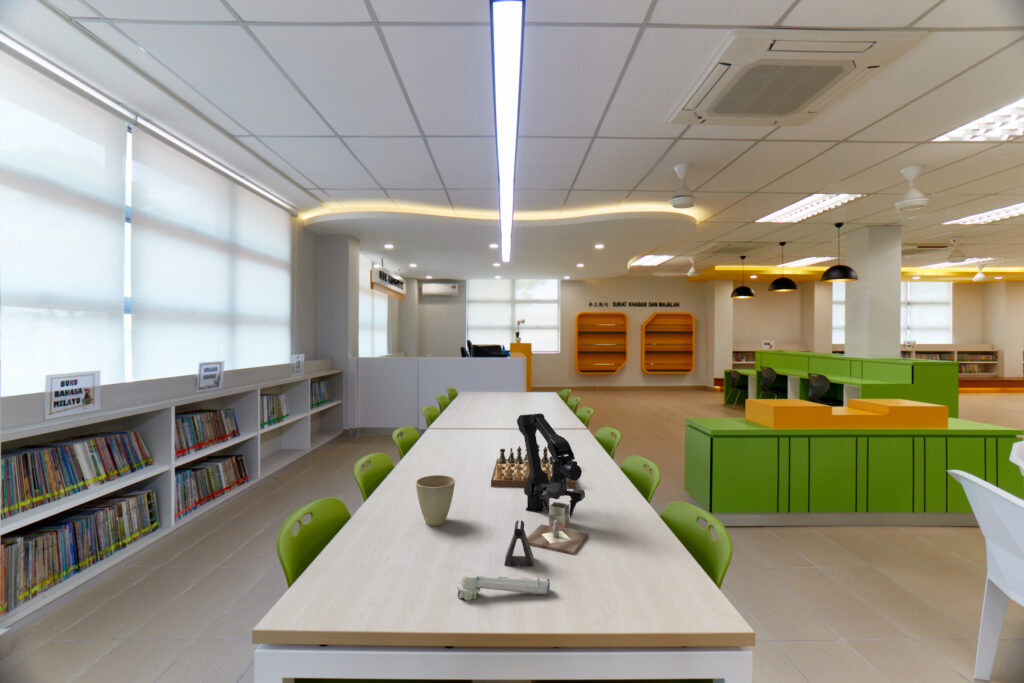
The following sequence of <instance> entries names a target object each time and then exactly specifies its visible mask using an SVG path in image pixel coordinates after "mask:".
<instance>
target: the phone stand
mask: <svg viewBox="0 0 1024 683" xmlns="http://www.w3.org/2000/svg"><path fill="white" fill-rule="evenodd" d="M519 523H520V528H519ZM527 537H528V536H527V534H526V531H525V522H524V521H523V519H521V520H516V521H515V523H514V531H513V534H512V538H511V541H510V543H509V546H508V548H507V551H506V553H505V558H504V566H505V567H534V557H535V556H534V554H533V551H532V549H531V545H529V542H528V539H527ZM518 539H519V540H520V542H521V544H522V549H523V552H524V556H523V555H514V552H515V547H516V543H517V540H518Z"/></svg>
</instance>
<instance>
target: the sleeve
mask: <svg viewBox="0 0 1024 683" xmlns="http://www.w3.org/2000/svg"><path fill="white" fill-rule="evenodd" d="M555 520H558V521H559V528H563V529H566V527H567V525H569V523H570V503H564V502H559V501H554V502H553V503H552V504H551V505H550V504H549V512H548V526H552V527H554V521H555Z"/></svg>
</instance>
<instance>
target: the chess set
mask: <svg viewBox="0 0 1024 683" xmlns="http://www.w3.org/2000/svg"><path fill="white" fill-rule="evenodd" d="M537 446H538V451H539V452H540V451H541V450H540V447H541V446H540V445H539V444H538V443H537ZM525 447H526V445H525ZM524 450H525V452H526V453H525V455H524V457H522V448H521V446H520V445H519V446H518V448H517V449H516V451H517V452H516V454H517V456H516V458H515V456H514V455H515V454H514V452H513V447H510V451H509V456H508V458H506V456H505V452H506V449H505V448H500V449H499V452H500V454H499V455H500V456H499V458H496V461H495V464H494V469H493V471H492V476H491V479H490V488H523V489H524V488H525V486H526V485H527V484H528V480H527V478H528V475H529V472H530V468H529V462H528V456H527V450H526V449H524ZM542 451H543V453H542V454H543V456H542V458H541V456H540V455H539V457H540V463H541V468H542V470H543V471H544V472H546V473H547V474H548V480H549V484H550V481H551V477H552V460H550V459H549V456H548V454H549V453H548V452H549V450H548V448H547V446H544V448H543V449H542ZM563 456H565V455H563ZM560 457H562V456H560ZM567 486H568V489H573V490H574V489H576V481H573V480H571V479H568V478H567Z"/></svg>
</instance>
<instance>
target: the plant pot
mask: <svg viewBox="0 0 1024 683" xmlns="http://www.w3.org/2000/svg"><path fill="white" fill-rule="evenodd" d="M455 483H456V479H455V478H454V477H452V476H449V475H446V474H445V475H441V474H435V475H434V474H433V475H426V476H421V477H420V478H418V479H417V480H416V481H415V486H416V493H417V500H418V504H419V507H420V508H419V509H420V511H421V514H422V517H423V519H424V522H425V524H426V525H428V526H432V527H434V526H437V527H438V526H441V525H443V524H445V522H446V520H447V518H448V514H449V511H450V509H451V505H452V501H453V496H454V492H455V491H454V490H455V485H456V484H455Z"/></svg>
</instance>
